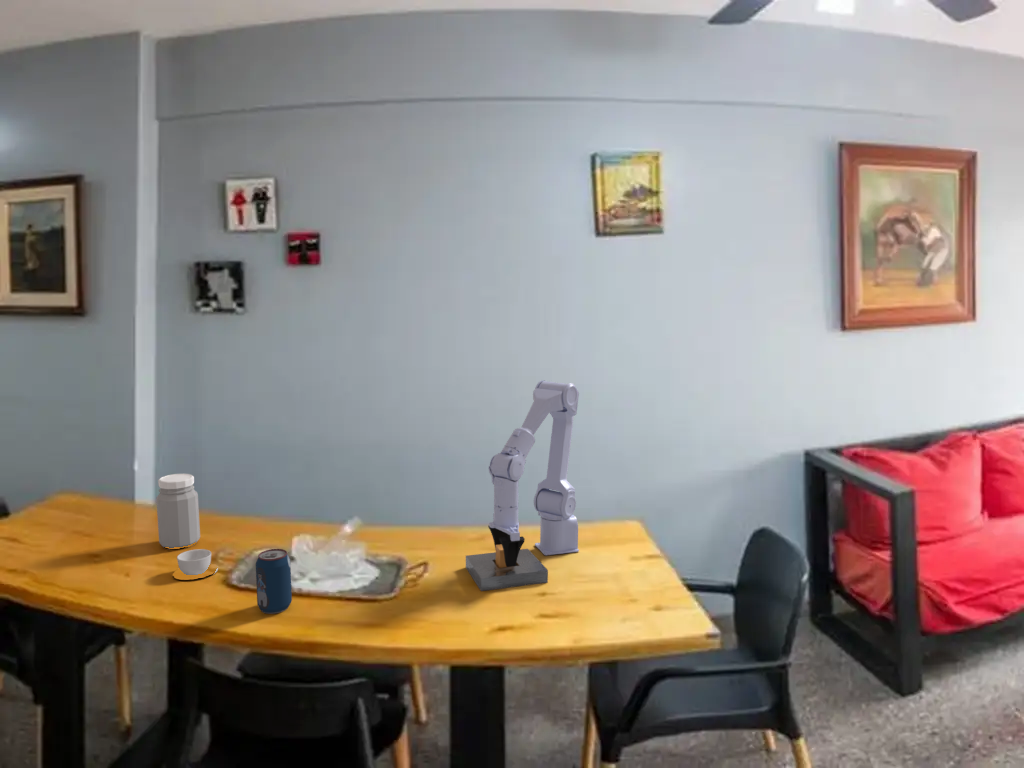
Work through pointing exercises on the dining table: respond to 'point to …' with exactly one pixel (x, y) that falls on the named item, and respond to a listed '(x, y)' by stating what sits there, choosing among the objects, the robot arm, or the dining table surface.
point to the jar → (177, 511)
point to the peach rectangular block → (500, 557)
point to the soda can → (273, 581)
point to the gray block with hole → (506, 571)
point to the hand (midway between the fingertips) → (505, 559)
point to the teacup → (194, 561)
